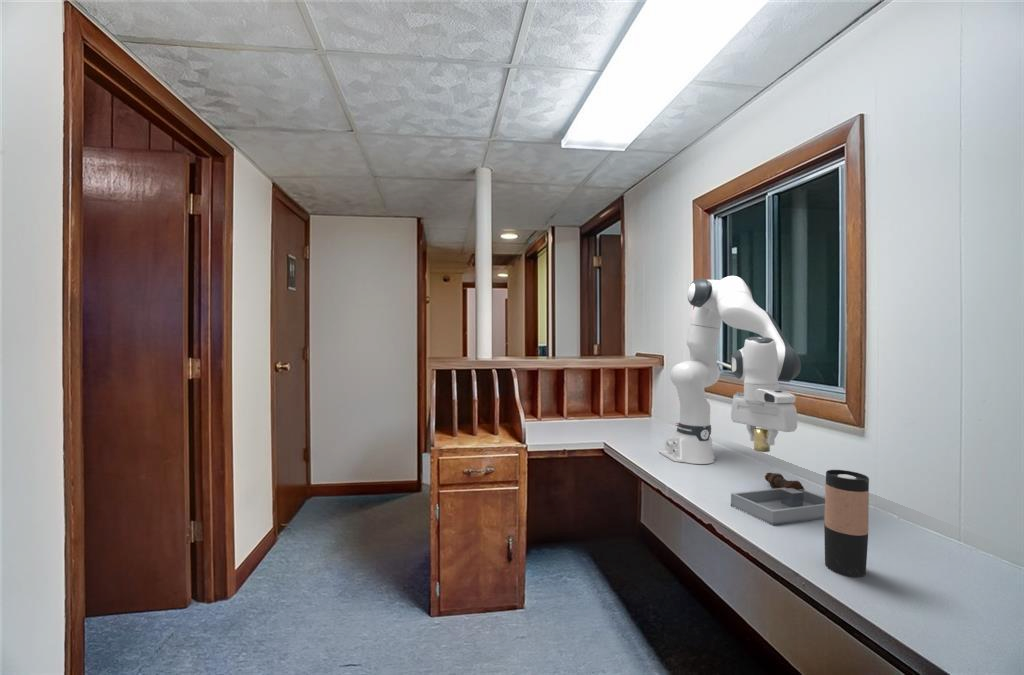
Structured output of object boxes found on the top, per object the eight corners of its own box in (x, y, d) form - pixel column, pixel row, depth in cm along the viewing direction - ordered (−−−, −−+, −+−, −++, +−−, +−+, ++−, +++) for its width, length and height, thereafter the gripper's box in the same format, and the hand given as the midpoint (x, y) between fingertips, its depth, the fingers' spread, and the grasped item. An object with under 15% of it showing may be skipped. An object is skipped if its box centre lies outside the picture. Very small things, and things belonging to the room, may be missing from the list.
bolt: (771, 488, 159) (798, 503, 144) (758, 480, 159) (783, 494, 144) (780, 473, 159) (807, 486, 144) (766, 465, 159) (793, 477, 144)
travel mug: (816, 559, 106) (818, 468, 106) (853, 561, 106) (855, 470, 105) (835, 576, 99) (838, 479, 99) (876, 579, 98) (878, 480, 98)
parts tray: (730, 505, 139) (731, 493, 139) (794, 498, 146) (794, 486, 146) (772, 525, 125) (772, 511, 125) (840, 516, 132) (840, 502, 132)
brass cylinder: (750, 449, 138) (750, 428, 138) (761, 448, 139) (761, 427, 139) (762, 452, 134) (761, 430, 134) (773, 451, 135) (772, 429, 135)
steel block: (780, 502, 140) (780, 489, 140) (791, 501, 142) (791, 487, 142) (792, 507, 137) (792, 493, 137) (803, 506, 138) (803, 492, 138)
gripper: (725, 391, 146) (726, 437, 145) (782, 397, 126) (783, 451, 126) (742, 390, 148) (742, 436, 147) (801, 396, 128) (802, 449, 128)
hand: (762, 443), depth 137 cm, fingers closed on brass cylinder, 4 cm apart
